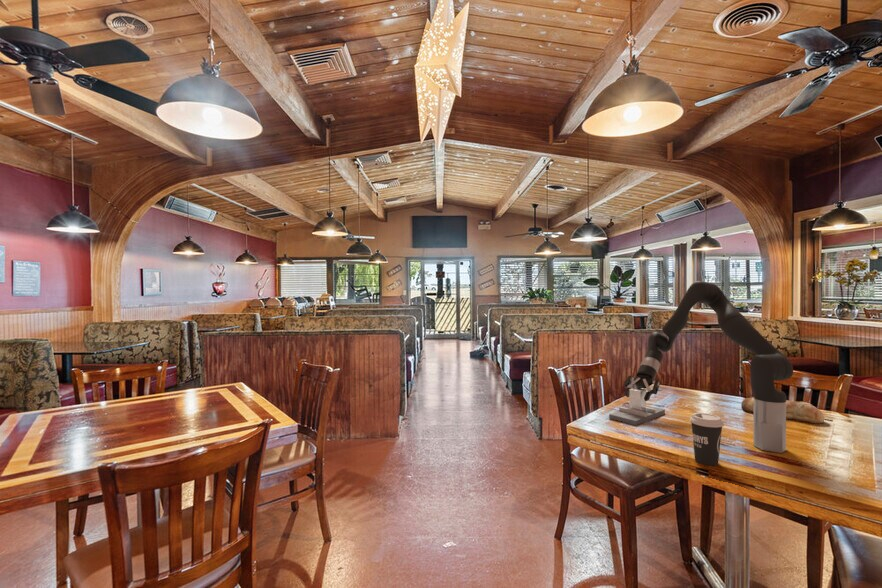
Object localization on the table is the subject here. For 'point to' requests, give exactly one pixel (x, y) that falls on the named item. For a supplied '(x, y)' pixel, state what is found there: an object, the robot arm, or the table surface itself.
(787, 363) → the robot arm
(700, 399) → the table surface
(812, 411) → the bread loaf
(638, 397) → the block
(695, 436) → the coffee cup
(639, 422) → the plate
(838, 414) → the table surface
